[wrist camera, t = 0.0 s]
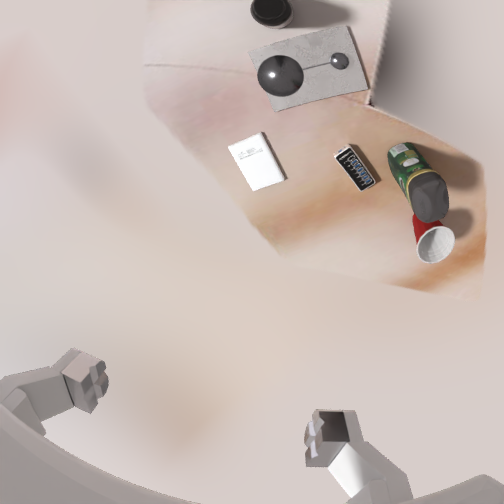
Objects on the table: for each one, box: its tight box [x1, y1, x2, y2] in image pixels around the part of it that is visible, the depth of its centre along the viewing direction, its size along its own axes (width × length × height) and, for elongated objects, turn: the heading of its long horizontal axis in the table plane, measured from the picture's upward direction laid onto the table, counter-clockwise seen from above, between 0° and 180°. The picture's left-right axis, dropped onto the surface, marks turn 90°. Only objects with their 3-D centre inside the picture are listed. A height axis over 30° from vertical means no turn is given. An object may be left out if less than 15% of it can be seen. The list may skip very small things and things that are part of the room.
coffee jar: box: [388, 143, 449, 223], centre depth 45 cm, size 10×8×19 cm
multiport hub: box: [334, 144, 376, 192], centre depth 55 cm, size 4×11×2 cm, turn 45°
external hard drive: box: [228, 132, 285, 191], centre depth 59 cm, size 2×8×12 cm
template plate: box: [248, 26, 368, 112], centre depth 42 cm, size 14×20×2 cm
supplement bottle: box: [250, 0, 293, 29], centre depth 31 cm, size 7×7×12 cm
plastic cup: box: [413, 213, 455, 264], centre depth 56 cm, size 11×11×12 cm
